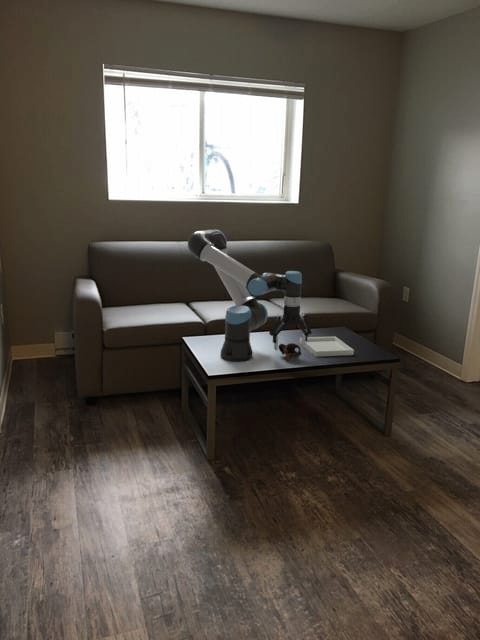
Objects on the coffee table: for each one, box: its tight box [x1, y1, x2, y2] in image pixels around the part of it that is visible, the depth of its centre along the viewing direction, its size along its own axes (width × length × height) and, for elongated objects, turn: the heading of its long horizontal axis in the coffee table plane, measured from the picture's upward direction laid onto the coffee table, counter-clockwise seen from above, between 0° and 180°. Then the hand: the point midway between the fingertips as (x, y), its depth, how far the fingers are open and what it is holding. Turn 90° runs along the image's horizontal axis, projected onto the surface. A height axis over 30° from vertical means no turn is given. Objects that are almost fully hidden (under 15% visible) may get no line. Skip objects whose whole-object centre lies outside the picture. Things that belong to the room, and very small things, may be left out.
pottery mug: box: [278, 342, 302, 362], centre depth 243 cm, size 12×10×8 cm
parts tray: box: [298, 336, 355, 357], centre depth 259 cm, size 20×22×2 cm
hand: (289, 348), depth 242 cm, fingers open, 13 cm apart
